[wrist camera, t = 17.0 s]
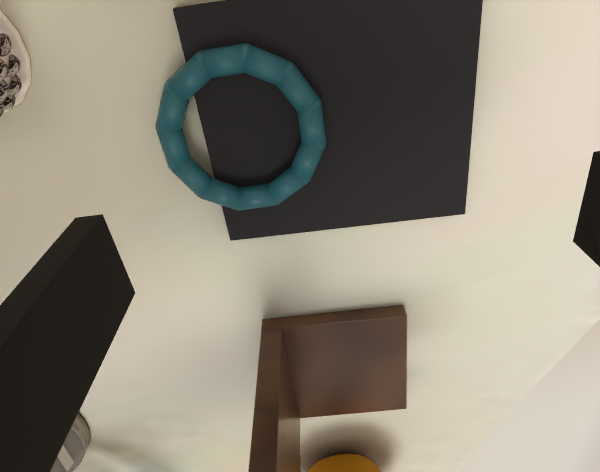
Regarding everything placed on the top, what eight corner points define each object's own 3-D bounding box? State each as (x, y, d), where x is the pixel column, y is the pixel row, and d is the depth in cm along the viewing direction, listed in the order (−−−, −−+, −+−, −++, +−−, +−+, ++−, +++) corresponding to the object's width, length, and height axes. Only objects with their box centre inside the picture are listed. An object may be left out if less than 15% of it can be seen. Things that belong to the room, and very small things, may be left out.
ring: (332, 191, 35) (187, 211, 36) (312, 30, 29) (138, 58, 30) (333, 201, 34) (183, 222, 35) (313, 34, 28) (130, 63, 28)
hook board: (282, 408, 51) (275, 665, 32) (262, 319, 44) (237, 585, 25) (412, 396, 50) (482, 654, 31) (413, 303, 43) (506, 567, 24)
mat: (231, 236, 38) (230, 240, 38) (175, 7, 29) (172, 8, 28) (462, 209, 37) (465, 214, 37) (481, -38, 28) (486, -38, 27)
